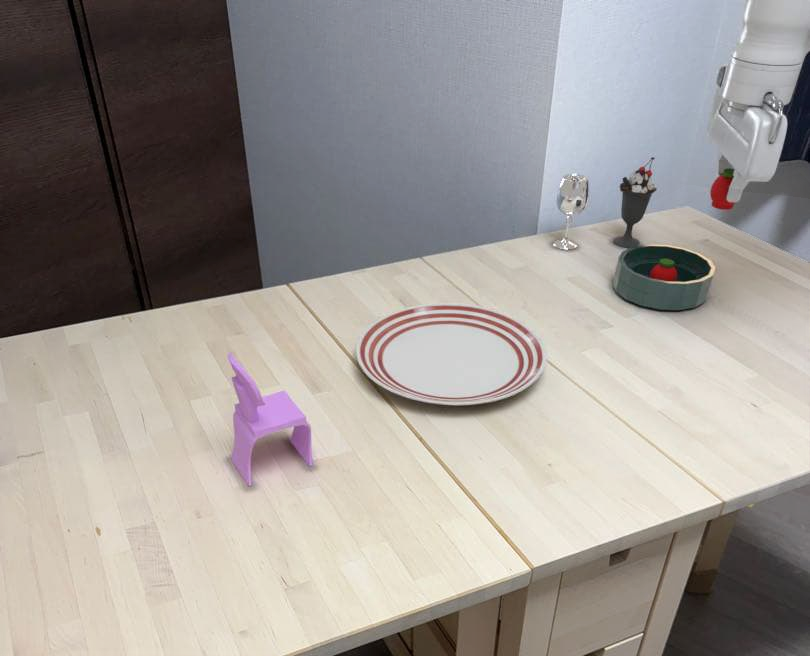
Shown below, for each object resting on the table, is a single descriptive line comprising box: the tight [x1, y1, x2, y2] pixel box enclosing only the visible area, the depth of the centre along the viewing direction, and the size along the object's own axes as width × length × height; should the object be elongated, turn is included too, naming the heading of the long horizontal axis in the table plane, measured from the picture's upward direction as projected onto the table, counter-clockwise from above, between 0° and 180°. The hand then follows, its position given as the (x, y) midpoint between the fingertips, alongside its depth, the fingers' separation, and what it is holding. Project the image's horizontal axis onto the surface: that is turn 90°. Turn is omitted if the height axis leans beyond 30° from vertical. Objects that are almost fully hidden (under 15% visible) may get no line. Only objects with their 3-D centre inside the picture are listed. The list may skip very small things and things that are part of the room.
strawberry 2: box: [709, 168, 744, 211], centre depth 107 cm, size 4×4×5 cm
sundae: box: [612, 156, 658, 249], centre depth 138 cm, size 7×7×15 cm
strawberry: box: [650, 259, 677, 282], centre depth 126 cm, size 4×4×5 cm
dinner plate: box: [355, 302, 548, 406], centre depth 108 cm, size 27×27×3 cm
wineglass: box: [552, 173, 590, 250], centre depth 138 cm, size 6×6×12 cm
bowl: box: [612, 243, 717, 311], centre depth 126 cm, size 16×16×5 cm
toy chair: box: [227, 352, 313, 487], centre depth 87 cm, size 8×9×15 cm
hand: (725, 193), depth 107 cm, fingers closed on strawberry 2, 4 cm apart
